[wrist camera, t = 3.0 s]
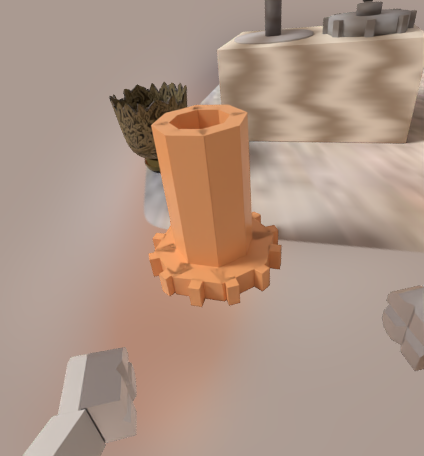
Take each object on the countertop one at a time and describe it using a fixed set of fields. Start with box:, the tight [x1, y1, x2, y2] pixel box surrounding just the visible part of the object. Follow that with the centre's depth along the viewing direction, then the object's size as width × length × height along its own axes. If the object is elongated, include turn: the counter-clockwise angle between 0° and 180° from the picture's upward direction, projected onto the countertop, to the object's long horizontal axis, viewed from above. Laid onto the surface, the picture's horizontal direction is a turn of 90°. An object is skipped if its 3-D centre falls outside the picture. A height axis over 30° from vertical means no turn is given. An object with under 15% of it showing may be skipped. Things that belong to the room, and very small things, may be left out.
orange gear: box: [149, 105, 281, 307], centre depth 22 cm, size 9×9×10 cm
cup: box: [110, 82, 187, 171], centre depth 36 cm, size 7×7×8 cm
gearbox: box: [217, 0, 424, 143], centre depth 41 cm, size 20×13×14 cm, turn 74°
